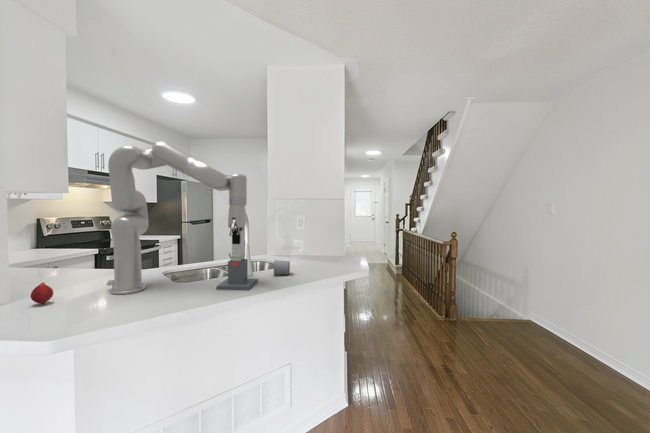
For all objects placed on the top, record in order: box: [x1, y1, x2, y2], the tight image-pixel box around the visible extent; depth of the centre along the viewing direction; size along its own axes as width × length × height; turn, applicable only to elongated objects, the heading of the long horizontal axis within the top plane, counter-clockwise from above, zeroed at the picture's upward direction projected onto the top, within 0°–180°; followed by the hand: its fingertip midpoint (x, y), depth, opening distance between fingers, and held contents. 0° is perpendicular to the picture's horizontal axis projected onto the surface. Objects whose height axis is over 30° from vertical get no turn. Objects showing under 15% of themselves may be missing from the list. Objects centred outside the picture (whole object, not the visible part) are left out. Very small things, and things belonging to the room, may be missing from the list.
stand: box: [215, 258, 259, 291], centre depth 133 cm, size 14×14×12 cm
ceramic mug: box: [273, 259, 291, 276], centre depth 156 cm, size 11×8×8 cm
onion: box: [30, 281, 54, 305], centre depth 106 cm, size 6×6×8 cm
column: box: [231, 230, 245, 261], centre depth 133 cm, size 4×4×18 cm
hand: (237, 242), depth 132 cm, fingers closed on column, 4 cm apart
